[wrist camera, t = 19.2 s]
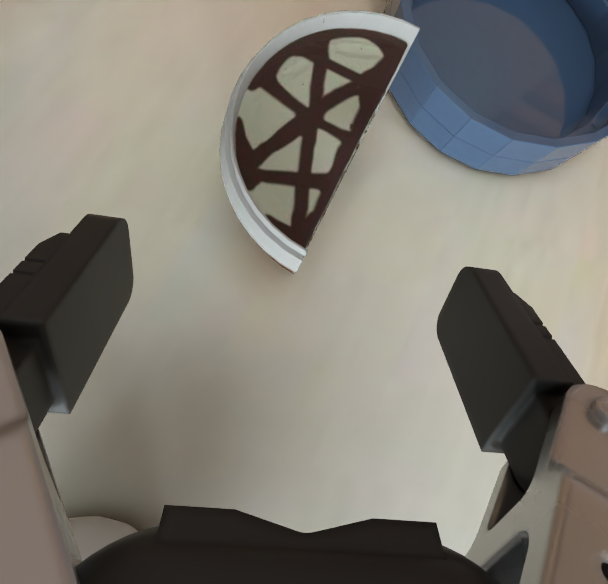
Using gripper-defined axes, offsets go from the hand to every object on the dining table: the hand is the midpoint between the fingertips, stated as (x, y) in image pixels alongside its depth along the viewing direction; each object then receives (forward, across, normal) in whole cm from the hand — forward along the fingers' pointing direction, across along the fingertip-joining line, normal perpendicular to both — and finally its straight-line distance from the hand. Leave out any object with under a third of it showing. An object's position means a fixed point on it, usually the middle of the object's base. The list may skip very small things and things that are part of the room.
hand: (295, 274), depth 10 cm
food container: (+17, 0, +5) cm, 18 cm away
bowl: (+26, -14, -3) cm, 29 cm away
